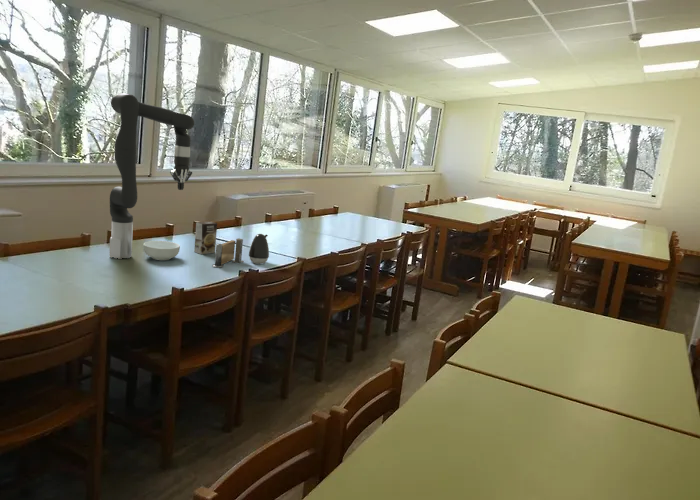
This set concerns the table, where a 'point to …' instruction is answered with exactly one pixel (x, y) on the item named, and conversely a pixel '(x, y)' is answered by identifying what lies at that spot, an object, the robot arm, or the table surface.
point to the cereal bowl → (161, 249)
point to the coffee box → (205, 237)
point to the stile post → (238, 251)
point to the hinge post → (218, 256)
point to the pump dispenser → (259, 249)
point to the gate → (227, 251)
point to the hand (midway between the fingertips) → (180, 189)
